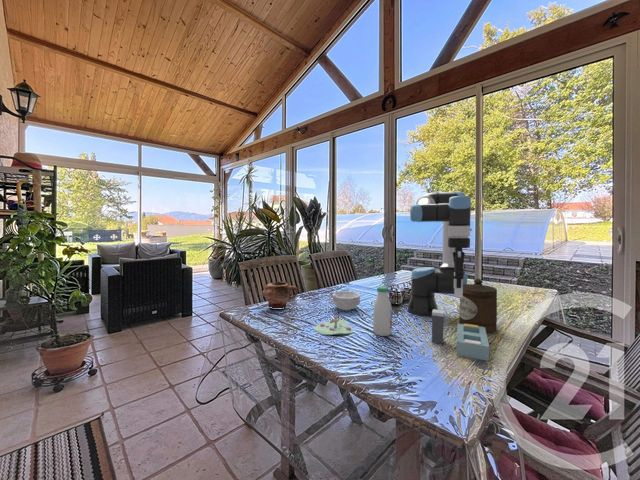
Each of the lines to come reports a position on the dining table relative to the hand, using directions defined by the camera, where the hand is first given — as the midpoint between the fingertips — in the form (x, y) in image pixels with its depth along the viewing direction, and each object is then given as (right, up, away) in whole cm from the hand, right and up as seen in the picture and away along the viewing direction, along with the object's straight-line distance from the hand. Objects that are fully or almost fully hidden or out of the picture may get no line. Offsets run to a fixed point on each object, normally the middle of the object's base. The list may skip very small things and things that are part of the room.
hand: (457, 292), depth 110 cm
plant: (-46, -20, +23) cm, 55 cm away
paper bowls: (-38, -18, +49) cm, 65 cm away
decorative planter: (-75, -18, +51) cm, 93 cm away
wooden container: (+18, -20, +19) cm, 33 cm away
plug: (-6, -20, +4) cm, 22 cm away
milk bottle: (-26, -20, +13) cm, 36 cm away
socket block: (+5, -21, -1) cm, 21 cm away
